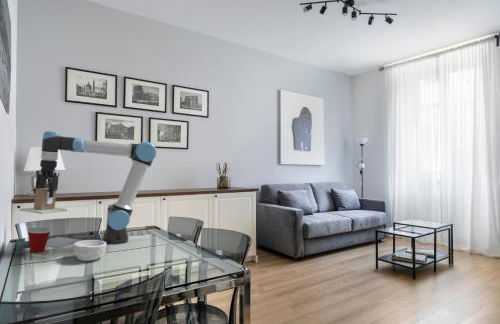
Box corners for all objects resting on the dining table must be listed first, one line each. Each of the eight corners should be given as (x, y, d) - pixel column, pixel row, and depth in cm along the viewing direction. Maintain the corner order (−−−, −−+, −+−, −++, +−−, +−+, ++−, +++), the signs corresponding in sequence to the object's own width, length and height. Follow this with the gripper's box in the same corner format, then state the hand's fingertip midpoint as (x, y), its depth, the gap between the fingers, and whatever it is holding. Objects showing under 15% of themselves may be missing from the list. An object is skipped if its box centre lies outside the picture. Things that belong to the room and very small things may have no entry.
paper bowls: (112, 257, 161) (113, 241, 162) (88, 265, 147) (89, 248, 147) (89, 252, 166) (90, 237, 167) (64, 260, 152) (65, 243, 152)
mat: (85, 241, 188) (85, 240, 188) (58, 249, 168) (58, 248, 168) (58, 237, 192) (58, 236, 193) (29, 244, 173) (29, 244, 173)
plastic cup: (37, 255, 155) (39, 232, 156) (19, 253, 158) (21, 229, 158) (55, 250, 166) (56, 228, 166) (38, 248, 168) (40, 226, 168)
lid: (67, 210, 171) (69, 189, 171) (42, 214, 157) (44, 190, 157) (45, 208, 175) (47, 186, 175) (19, 210, 160) (22, 187, 161)
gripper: (29, 158, 165) (25, 201, 165) (56, 160, 160) (52, 205, 160) (42, 159, 172) (38, 200, 172) (68, 161, 168) (64, 204, 167)
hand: (44, 203), depth 166 cm, fingers closed on lid, 5 cm apart
